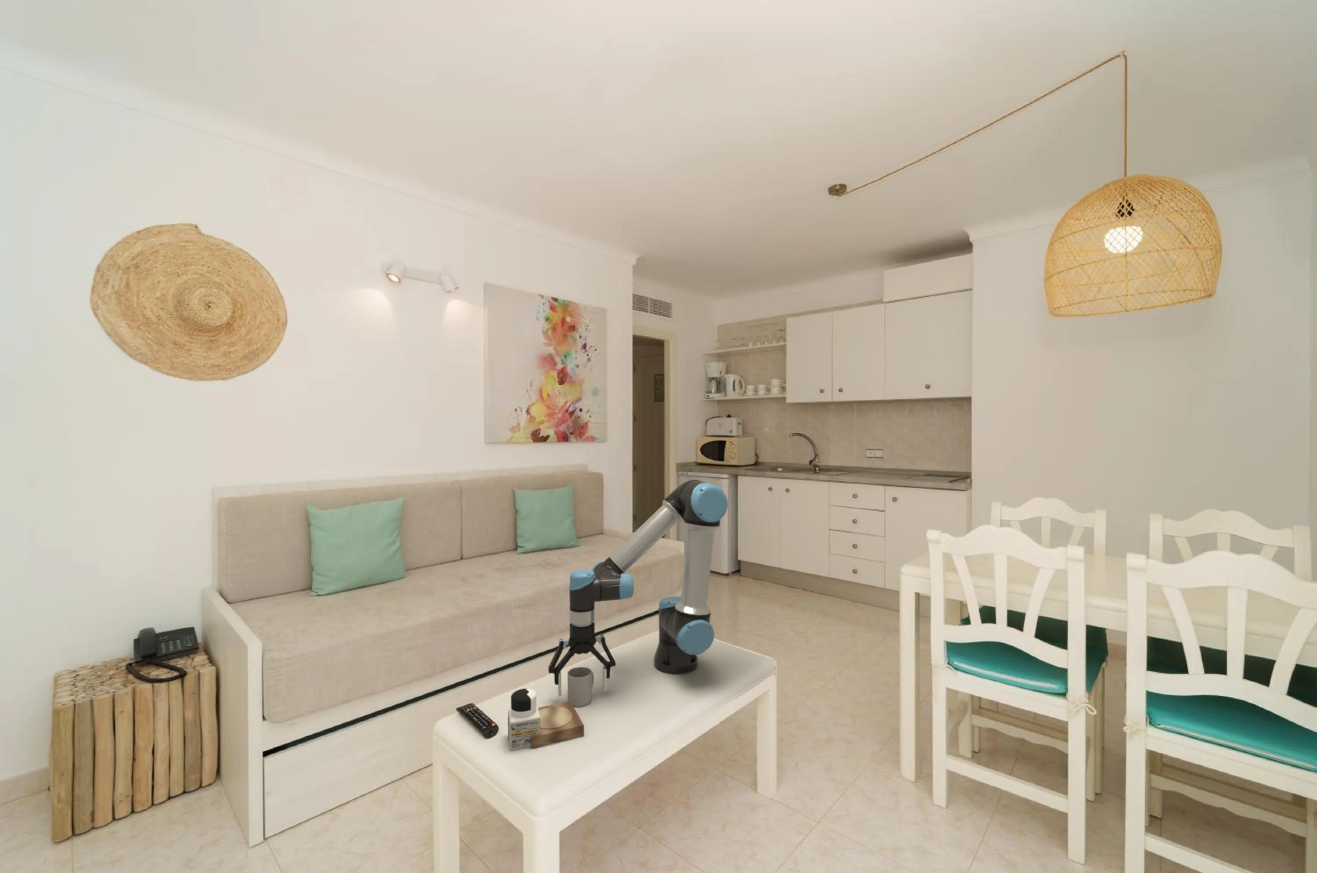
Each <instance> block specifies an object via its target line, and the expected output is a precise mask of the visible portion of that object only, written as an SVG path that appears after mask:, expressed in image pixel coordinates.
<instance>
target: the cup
mask: <svg viewBox="0 0 1317 873" xmlns="http://www.w3.org/2000/svg"><path fill="white" fill-rule="evenodd" d="M594 678H595V677H594V673H593V671H592V670H591V668H589V667H586V666H577V667H572V668H570V669H569V670H568V671H567V702H568V701H570V702H571V703H572V705H573V707H574V708H583V707H586V706H589V704H591V702H592V699H593V695H592V694H593V691H592V690H593V686H594V680H595V679H594Z"/></svg>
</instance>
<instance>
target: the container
mask: <svg viewBox="0 0 1317 873" xmlns="http://www.w3.org/2000/svg"><path fill="white" fill-rule="evenodd" d="M510 695H511V696H510V707H508V708H507V735H508V737H507V738H508V742H509V748H510V751H517V750H521V749H523V750H524V749H526V748H527V749H529V748H531V736H532V735H537V734H540V733H541V720H540V714H539V710H538V708H539V707H538V703H537V692H536V691H535V690H534V689H532V688H520V689H517V690H515V691H514V692H512V694H510Z"/></svg>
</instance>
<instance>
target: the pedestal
mask: <svg viewBox="0 0 1317 873" xmlns="http://www.w3.org/2000/svg"><path fill="white" fill-rule="evenodd" d="M538 710H539V714H540V720H541V733H540V734H537V735H532V736H531V747H530V749H533V750H534V749H537V748H540V747H545V746H548V745H553V744H557V743H560V742H565V741H569V740H573V739H577V738H581V737H584V736H585V724H584V722H583V721H582V719H581V718H580V716H579V714H578V712H577V710H576V709H575V707H573V705H572V703H571V702H570V701H568V700H567V701H564V702H559V703H555V704H551V705H550V704H549V705H544V706H541V707H538Z"/></svg>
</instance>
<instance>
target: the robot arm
mask: <svg viewBox="0 0 1317 873" xmlns="http://www.w3.org/2000/svg"><path fill="white" fill-rule="evenodd" d="M727 497H728V496H727V494H726V493H725V492H724V490H723V489H722V488H720V487H719V486H718V485H715V484H714V483H712V482H711V483H710V482H706V481H702V480H699V479H688V480H687V481H685V482H682V483H681V484H680V485H679V486H677V487H676V488H675V489H674V490H673V491H671V492H670V494H668V496H666V497H665V498H664V499H663V500H662V505H661V506H660V507H659V508H658V509H657V510H656V511H655V512H654V513H653V514H652V515H651V516H650V517H649V518H648V519H647V520H645V521H644V523H643V524H642V525H641V526H640V527H638V528H637V529H636V530H635V531H634V532H633V533H632V534H630V536H629V537H628V538H627V539H626V540H625V541H623V543H621V545H620V546H619V547H617V549H616V550H615V551H614V552H612V553H611V554H610V555H609V556H608V557H607V558H606V559H605V560H604V561H599V562H597V563H596V564H594V565H593V567H592V568H591V569H577V570H574V571H572V572H571V573H570V575H569V586H568V588H569V589H568V590H569V591H568V592H569V593H568V594H569V638H568V639H563V638H559V640H558V646H557V649H556V651H555V652H554V655H553V656H552V659H551V660H550V663H549V665H548V668H547V671H548V673H549V674H553V675H554V678H553V680H554V685H555V686H557V690H558V691H557V694H558V697H562V670H563V669H564V668H565V666H566V665H567V664H568V663H569V661H570V660H571V658H573V657H574V656H575V654H576V655H582V654H585V655H586V654H588V653H590V654H592V655H593V656H594V657H595V658H596V659H597V660H598V661H599V662H600V663H601V665H602V689H603V692H606V691H607V688H608V687H607V679H610V678H611V668H612V667H616V666H617V663H616V660H615V658H614V656H613V655H612V652H611V650H610V649H609V647H608V645H607V643H606V637H605V636H604V634H600V636H596V635H595V633H596V632H595V629H596V626H595V625H596V624H595V620H596V619H595V618H596V616H595V608H596V607H595V604H596V603H597V602H599V603H600V602H610V601H618V600H619V601H620V600H621V601H623V600H626V599H630V598H632V597H633V595H634V591H635V586H634V585H635V584H634V578H633V576H632V575H631V574H630V573H626V572H628V570H629V569H630V568H632V566H634V564H636V563H637V562H638V561H639V560H640V559H641V558H642V557H643V556H644V555H645V554H646V553H647V552H648V551H649V550H650V549H651V548H652V547H653V546H654V545H655V544H656V543H657V542H658V541H659V540H660V539H661V538H662V537H663V536H665V534H666V533H668V531H670V530H671V529H672V528H673V527H674V526H675V525H676V524H677V523H678V522H683V524H685V527H687V535H686V545H685V551H684V553H685V554H684V564H683V571H682V572H683V573H682V575H683V576H682V584H681V592H680V593H681V594H680V596H669V597H664V598H662V599H660V601H658V602H659V603H658V644H657V647H656V650H655V653H654V657H653V665H654V667H655V668H656V669H657V670H658V671H660V672H663V673H667V674H674V675H677V674H679V675H680V674H685V673H687V674H688V673H689V672H692V671H694V670H695V669H696V668H697V667H698V666H699V664H698V663H699V662H698V655H701V654H703V653H705V652H706V651H707V650H709V649H710V647H711V646H712V645H713V642H714V640H715V631H714V630H715V629H714V628H713V626H712V625H713V624H711V623H710V622H711V614H712V613H711V612H712V609H711V608H710V607H709V606H708V596H709V588H710V587H709V586H710V576H711V567H712V560H713V559H712V557H713V548H714V539H715V537H714V536H715V531H716V530H718V528H720V525H721V519H722V518H723V517H724V516H725V515H726V513H727V510H728V503H729V502H728V498H727ZM597 642H598V644H599V645H601V647H602V649H603V650H604V652H605V654H606V656H607V658H608V660H609V661H608V660H607V659H606V658H605V657H604V656H603V655H602V654H601V653H600V651H599V650H598V649H597V648H596V647H595V645H596V644H597ZM567 646H569V649H568V650H567V652H566V653H565V654H564V656H563V657H562V658H561V655H562V653H563V650H564V649H565V648H567ZM560 658H561V660H560V661H559V659H560Z"/></svg>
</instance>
